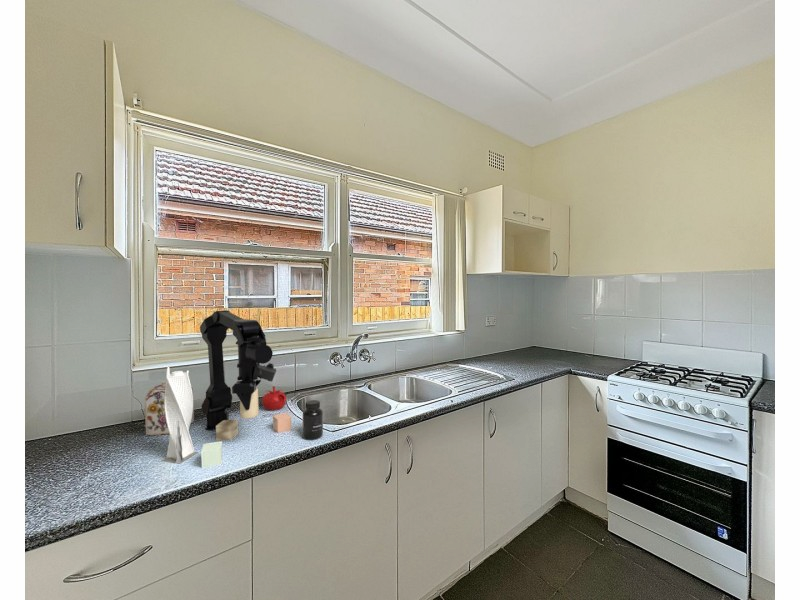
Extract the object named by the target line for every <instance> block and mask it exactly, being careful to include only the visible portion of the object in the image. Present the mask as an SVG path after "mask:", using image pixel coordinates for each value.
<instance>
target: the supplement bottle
mask: <svg viewBox="0 0 800 600" xmlns="http://www.w3.org/2000/svg"><path fill="white" fill-rule="evenodd" d="M304 407H305V409H304V411H303V412H302V437H303V439H305V440H307V441H314V439H315V440H318V438H319V439H321V438H322V437H323V434H324V412H323V410H322V409H321V402H320V401H319V400H316V399H313V400H307V401H305V406H304Z"/></svg>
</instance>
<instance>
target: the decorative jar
mask: <svg viewBox="0 0 800 600" xmlns="http://www.w3.org/2000/svg"><path fill="white" fill-rule="evenodd" d="M166 382H167V379H165V380H163V381H161V384H158V385H155V386H153V387H151V388H150V389H149V391H148V392H147V394H146V395H145V397H144V420H145V436H147V435H150V436H160V435H161V434H165V435H170V433H169V430H168V426H167V422H166V416H165V407H164V399H165V388H166ZM191 388H192V394H193V395H194V391H193V390H194V389H193V387H192V386H191ZM194 407H195V406H194V404H193V411H192V418H191V422H190V425H192V424H193V423H194V422H193V421H195V411H194V410H195V408H194ZM192 422H193V423H192ZM191 423H192V424H191ZM161 436H162V435H161Z"/></svg>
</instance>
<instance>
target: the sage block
mask: <svg viewBox="0 0 800 600" xmlns="http://www.w3.org/2000/svg"><path fill="white" fill-rule="evenodd" d="M200 455H201V468H202V467H205V468H209V467H208V466H210V467H214V466H213V465H216V466H220V464H221V465H222V461H223V440H219V441H214V442H209V443H203V444H202V447H201V453H200Z"/></svg>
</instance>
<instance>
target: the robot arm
mask: <svg viewBox="0 0 800 600" xmlns="http://www.w3.org/2000/svg"><path fill="white" fill-rule="evenodd" d="M229 329H230V330H231V331H232V335H233V337H235V338H236V342H235V345H237V354H238V355H237V356H238V357H237V359H238V360H237V362H238V363H237V365H236V368H238V375H237V381H236V382H235V383H234V384H233V385H232V387H230V386H228V384H227V383H226V380H225V379H226V377H225V366H224V363H225V362H224V350H223V347H224V346H223V343H224V341H225V340H226V338H227V333H228V330H229ZM199 332H200V334H201V338H202V340H203V342H205V343H206V345H207V354H208V367H209V368H208V369H209V370H208V371H209V386H208V387H207V389H206V391H205V398H204V400H203V401H202V404H201V412H203V413H204V414H206V427H205V428H204V429H205V431H209V430H216V425H218V424H219V423H221V422H222V421H223V420H230V417H229V411H227V410H228V409H231V408H232V403H233V395H232V394H236V396H237V397H238V399H239V402H240V401H241V402H242V404H243V406H244V408H245V410H249V409H250V403H251V396H252V393H253V392H255V390H256V389H257V388H258V387H257V386H258V385H260V383H261V382H262V379H263V380H266V381H268V382H273V380H274V378H275V375H276V373H277V369H276V368H275V367H274V366H275V365H274V364H273V363H271V362H270V361H271V359H272V358H273V354H274V353H273V350H272V348H271V347H270V346H269V345H267V339H266V334H265V332H264V330H263V328H262V326H261V324H260V322H259V321H258V320H256V319H249V318H248V319H245V318H242V317H240V316H238V315H236V314H234V313H232V312H231V311H230V310H228V309H225V310H216V311H213V313H212V314H211V315H210V316H208V317H206V318H204V320H202V323H201V324H200V327H199ZM261 364H263V365H261ZM264 364H267V365H264Z"/></svg>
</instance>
